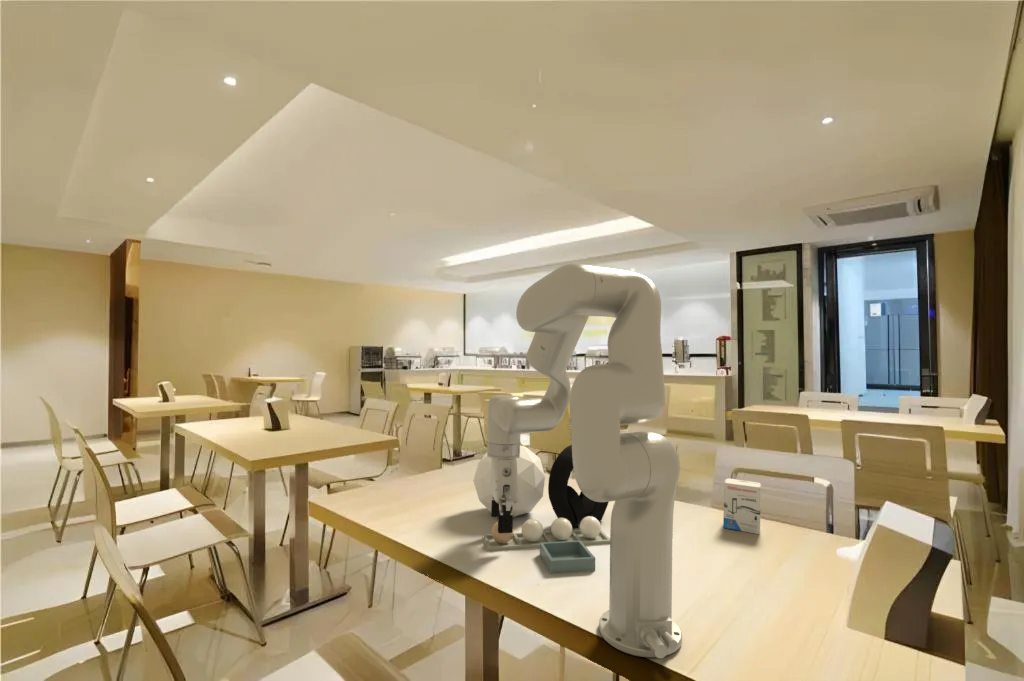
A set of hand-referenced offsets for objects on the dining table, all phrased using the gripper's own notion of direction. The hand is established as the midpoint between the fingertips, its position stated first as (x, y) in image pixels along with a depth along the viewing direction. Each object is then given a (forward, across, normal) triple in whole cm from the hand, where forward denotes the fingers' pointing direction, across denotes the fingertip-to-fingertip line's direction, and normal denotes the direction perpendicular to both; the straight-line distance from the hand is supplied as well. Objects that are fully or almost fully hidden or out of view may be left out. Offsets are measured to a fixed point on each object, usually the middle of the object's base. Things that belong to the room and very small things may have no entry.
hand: (501, 524), depth 112 cm
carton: (+4, -1, -11) cm, 12 cm away
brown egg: (+4, -1, 0) cm, 4 cm away
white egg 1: (+4, -1, -7) cm, 8 cm away
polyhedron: (+5, +20, -6) cm, 22 cm away
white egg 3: (+4, -1, -21) cm, 22 cm away
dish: (+4, -13, -12) cm, 18 cm away
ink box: (+4, +1, -63) cm, 63 cm away
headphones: (+5, +10, -23) cm, 25 cm away
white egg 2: (+4, -1, -14) cm, 15 cm away
